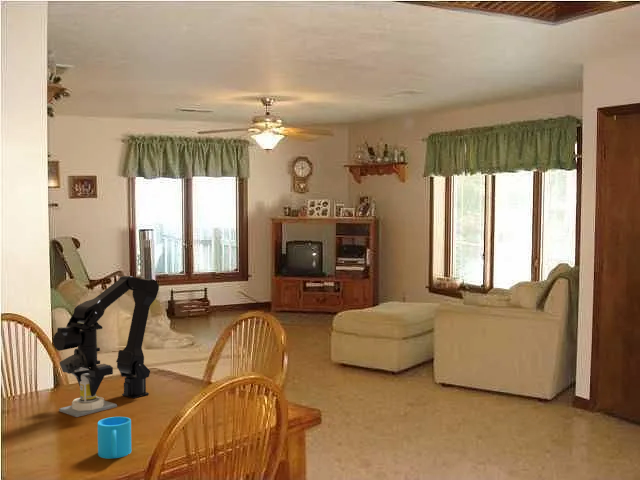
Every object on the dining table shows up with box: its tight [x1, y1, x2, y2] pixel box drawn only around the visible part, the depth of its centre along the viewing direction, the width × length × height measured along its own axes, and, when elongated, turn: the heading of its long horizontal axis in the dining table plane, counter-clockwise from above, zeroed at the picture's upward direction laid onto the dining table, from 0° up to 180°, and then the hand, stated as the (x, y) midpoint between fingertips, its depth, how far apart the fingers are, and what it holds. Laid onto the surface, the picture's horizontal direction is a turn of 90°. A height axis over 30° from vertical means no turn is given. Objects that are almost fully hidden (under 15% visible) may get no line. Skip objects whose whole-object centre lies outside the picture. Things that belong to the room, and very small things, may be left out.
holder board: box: [58, 395, 118, 418], centre depth 214 cm, size 14×10×3 cm
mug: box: [97, 416, 132, 459], centre depth 173 cm, size 12×8×8 cm
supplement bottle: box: [79, 373, 97, 403], centre depth 214 cm, size 5×5×8 cm
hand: (88, 394), depth 214 cm, fingers closed on supplement bottle, 5 cm apart
